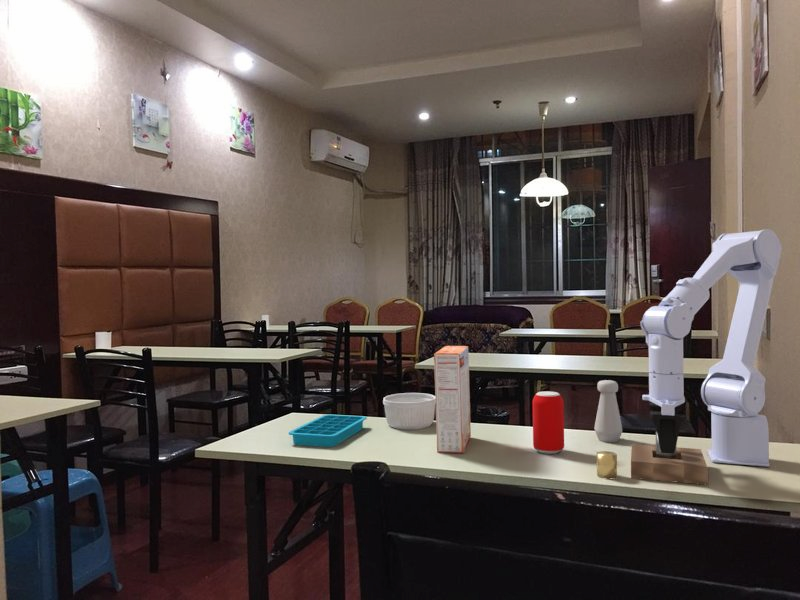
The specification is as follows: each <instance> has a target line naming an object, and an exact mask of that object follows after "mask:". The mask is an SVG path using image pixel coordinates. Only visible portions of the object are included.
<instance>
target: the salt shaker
mask: <svg viewBox="0 0 800 600" xmlns="http://www.w3.org/2000/svg"><path fill="white" fill-rule="evenodd" d="M596 388H597V391H598V392H600V395H599V401H598V406H597V410H596V411H597V412H596V418H595V422H594V427H593V428H594V431H595V434H596V436H597V439H598V441H600V442H603V443H604V442H605V443H615V442H619V440H620V438H621V436H622V434H623V426H622V421H621V420H622V419H621V416H620V415H621V414H620V409H619V404H618V401H617V394H616V393H617V392H618V391H619V384H618V382H617V381H615V380H611V379H608V380H607V379H604V380H599V381H597V387H596Z"/></svg>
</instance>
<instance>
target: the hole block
mask: <svg viewBox="0 0 800 600" xmlns="http://www.w3.org/2000/svg"><path fill="white" fill-rule="evenodd" d="M630 451H631V452H630V453H631V456H630V478H631V479H635V478H642V479H641V480H646V479H653V480H652V481H656V480H661V481H660V482H667V481H677V482H676V483H678V482H685V483H684V484H688V483H695V484H694V485H699V484H706V485H705V486H708V484H709V483H708V482H709V481H708V479H709V478H708V475H709V473H708V466H707V462H706V460H705V457H704V455H703V452H702V449H700V448H693V447H692V448H691V447H690V448H689V447H688V448H687V447H678V446H676V459H666V458H656V445H652V444H651V445H650V444H636V443H631V449H630ZM697 483H698V484H697Z"/></svg>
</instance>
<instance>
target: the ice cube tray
mask: <svg viewBox="0 0 800 600" xmlns="http://www.w3.org/2000/svg"><path fill="white" fill-rule="evenodd" d="M367 418H368V417H367V416H364V415H348V414H346V415H345V414H324V415H321V416H319V417H317V418H314V419H313V420H311V421H309V422H306V423H305V424H301V426H298V427H296V428H294V429H292V430H289V432H288V435H290V436H292V440H293V441H292V443H293V445H295V446H296V445H297V446H309V447H310V446H312V447H324V448H330V447H331V448H332V447H336V446H337V445H339V444H341V443H342V442H344V441H345V440H347V439H349V438H351V437H352V436H353V435H355V434H357V433H359V432H360V431H362V430H363V425H364V421H365V420H367Z"/></svg>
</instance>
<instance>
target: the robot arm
mask: <svg viewBox="0 0 800 600" xmlns="http://www.w3.org/2000/svg"><path fill="white" fill-rule="evenodd" d="M711 247H712V248H711V249H712V251H711V253H710V254H709V255H708V257H707V258H706V259H705V260H704V262H703V263H702V264H701V265H700V267H699V269H698V270H697V271H696V272H695V274H694V275H692V276H693V277H685V278H683V279H680V278H679V280H678V281H677V282H676V283H675V284H676V285H675V286H674V287H673V289H672V290H671V291H670V292H669V293H668V294H667V295H666V296H665V297H663V299H661V301H660V303H659V304H658V305H654V306H653V305H652V306H651V307H649V308H648V309H647V310H646V311H645V312H644V314H643V316H642V319H641V321H640V328H641V330H642V332H643V334H644V336H645V344H646V345H647V346H648V391H649V392H648V394H642V395H641V396H642V398H641V399H642V401H648V402H649V403H648V406H649V408H650V411H649V416H650V418H651V420H652V423H653V424H654V427H655V429H656V431H657V434H658V440H659V446H660V450H661V453H671V454H674V452H675V449H676V447H677V443H678V438H679V433H680V430H681V427H682V425H683V424H684V422H685V420H686V415H685V414H680V412H681V410H682V409H683V404H684V403H685V402H686V397H685V395H684V392H685V391H684V390H685V389H684V385H685V384H684V383H685V382H684V338H685V337H686V336H687V335H688V334H689V333H690V331H691V327H692V322H693V321H694V318H695V315H696V314H697V313H698V312H699V311H700V310H701V308H702V307H703V306H704V305H705V303H706V302H707V301H708V300H709V299H710V297H711V296H710V290H709V289H711V288H712V287H713V286H714V285H715V284H716V283H717V282H718V281H719V280H721V278H722V277H723V276H724V275H726V273H728V274H729V275H730V276H731V277H732V278H734V279H737V281H738V282H739V289H738V293H737V298H736V301H735V305H734V310H733V315H732V318H731V323H730V327H729V332H728V335H727V340H726V344H725V348H724V352H723V357H722V360H720V361H718V362H716V363H715V364H713V365H712V366H711V367H709V369H708V374H707V376H706V378H705V379H704V380H703V382H702V384H701V388H700V396H701V399H702V401H703V403H704V405H706V406H707V411H708V412H711V413H710V414H711V415H710V416H711V422H710V423H711V425H710V426H711V448H710V449H709V448H708V449H707V453H708V456H709V459H710V461H711V462H712V463H720V464H730V465H731V464H732V465H746V466H754V467H755V466H757V467H770V445H769V444H770V442H769V441H770V440H769V439H770V437H769V436H770V435H769V433H770V432H769V431H770V430H769V423H768V419H767V416H766V415H764V414H759V413H760V412H761V411H762V410H763V407H764V406H765V402H766V393H765V386H766V378H765V376H764V375H763V374H762V373H761V372H760V371H759V369H757V368H756V366H755V363H756V359H757V356H758V355H757V354H758V351H759V345H760V342H761V337H762V332H763V329H764V323H765V319H766V314H767V310H768V306H769V302H770V297H771V293H772V288H773V284H774V279H775V278H774V277H775V276H777V272H778V266H779V262H780V259H781V254H782V250H783V247H782V245H781V242H780V240H779V238H778V236H777V234H776V233H775V232H774V231H773V230H772V229H769V228H766V229H761V230H753V231H746V232H745V231H743V232H733V233H730V232H729V233H727V232H725V233H722V234H720V235H719V236H718V237H717V239H716V240H715V241H714V242H713V243H712V245H711Z"/></svg>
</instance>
